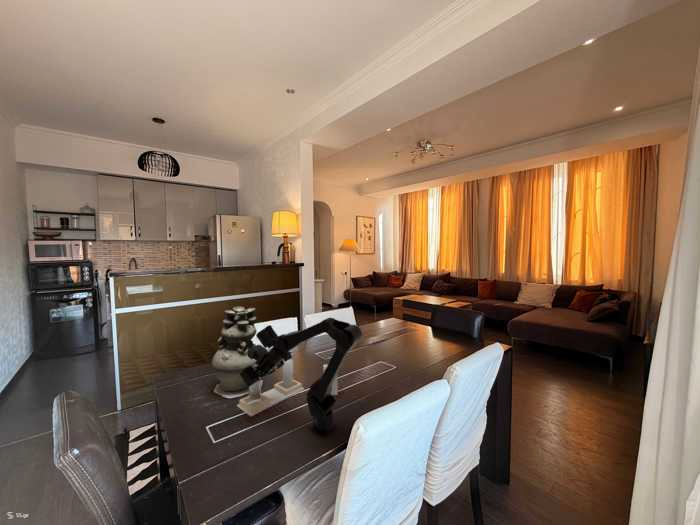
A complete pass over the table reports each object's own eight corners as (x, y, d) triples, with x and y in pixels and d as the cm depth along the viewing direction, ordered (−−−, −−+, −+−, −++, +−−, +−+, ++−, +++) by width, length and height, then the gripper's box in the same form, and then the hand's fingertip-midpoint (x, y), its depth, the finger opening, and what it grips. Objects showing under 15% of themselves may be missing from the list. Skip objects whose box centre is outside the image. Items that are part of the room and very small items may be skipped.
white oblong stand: (303, 389, 123) (303, 360, 122) (250, 416, 104) (250, 382, 103) (289, 382, 129) (289, 354, 129) (237, 406, 110) (236, 373, 109)
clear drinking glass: (262, 398, 109) (261, 366, 109) (250, 401, 107) (249, 369, 106) (259, 393, 113) (258, 362, 112) (248, 395, 111) (247, 365, 110)
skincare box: (337, 390, 123) (337, 363, 122) (338, 395, 118) (338, 367, 117) (323, 391, 122) (323, 363, 121) (323, 396, 118) (323, 368, 117)
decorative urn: (272, 383, 130) (273, 308, 128) (232, 404, 112) (233, 316, 110) (241, 371, 141) (243, 302, 139) (200, 389, 122) (201, 309, 121)
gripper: (277, 333, 116) (257, 355, 121) (242, 348, 99) (221, 372, 104) (293, 355, 113) (272, 376, 118) (260, 374, 96) (237, 398, 101)
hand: (252, 380), depth 110 cm, fingers closed on clear drinking glass, 4 cm apart
